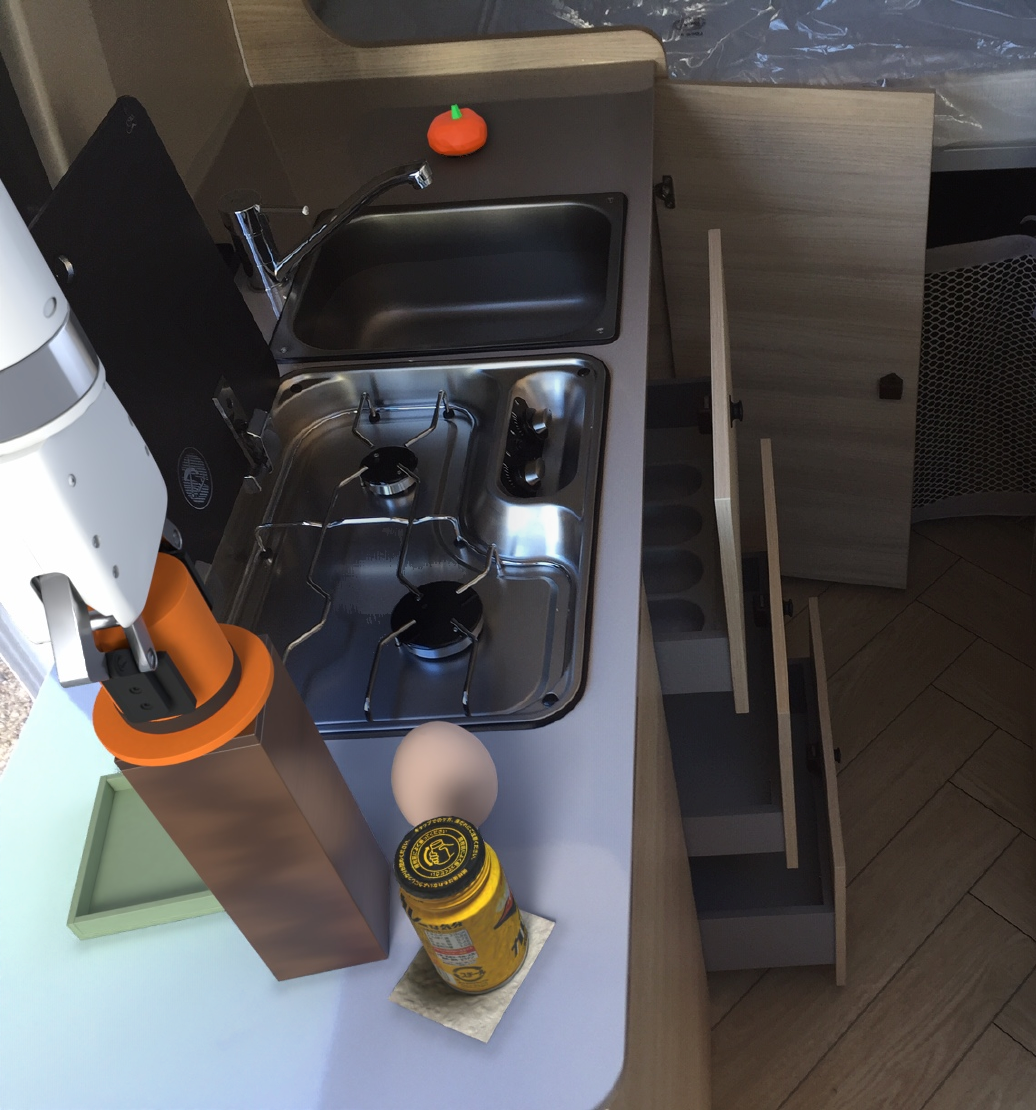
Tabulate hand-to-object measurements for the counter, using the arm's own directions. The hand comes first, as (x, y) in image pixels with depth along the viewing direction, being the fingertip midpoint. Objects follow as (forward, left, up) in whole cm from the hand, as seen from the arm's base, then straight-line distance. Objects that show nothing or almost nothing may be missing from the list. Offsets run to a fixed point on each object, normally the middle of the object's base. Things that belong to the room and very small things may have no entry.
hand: (174, 659), depth 61 cm
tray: (-11, +9, -27) cm, 30 cm away
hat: (0, 0, -3) cm, 3 cm away
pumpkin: (+11, +110, -27) cm, 113 cm away
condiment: (+9, -5, -27) cm, 29 cm away
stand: (0, 0, -27) cm, 27 cm away
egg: (+8, +6, -27) cm, 29 cm away
